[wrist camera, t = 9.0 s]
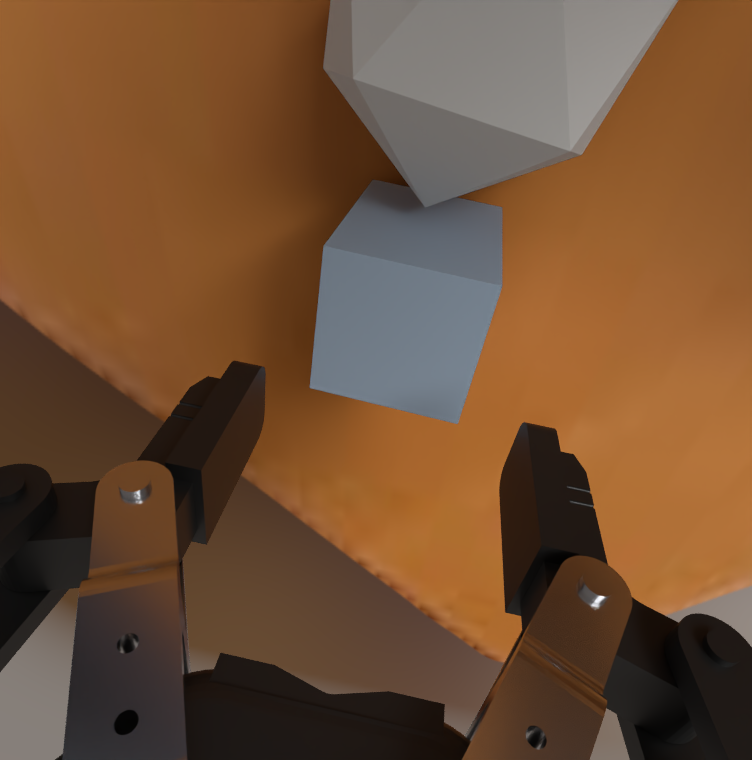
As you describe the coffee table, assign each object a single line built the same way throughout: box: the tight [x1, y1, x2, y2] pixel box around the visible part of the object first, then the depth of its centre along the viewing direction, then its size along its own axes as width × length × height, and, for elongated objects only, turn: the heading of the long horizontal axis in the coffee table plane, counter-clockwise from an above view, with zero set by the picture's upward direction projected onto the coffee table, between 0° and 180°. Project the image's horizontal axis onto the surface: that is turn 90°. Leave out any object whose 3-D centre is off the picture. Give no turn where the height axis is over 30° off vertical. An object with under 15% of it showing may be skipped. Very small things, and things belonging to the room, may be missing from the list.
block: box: [310, 180, 502, 424], centre depth 19 cm, size 5×5×7 cm
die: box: [323, 0, 678, 207], centre depth 14 cm, size 8×9×10 cm
